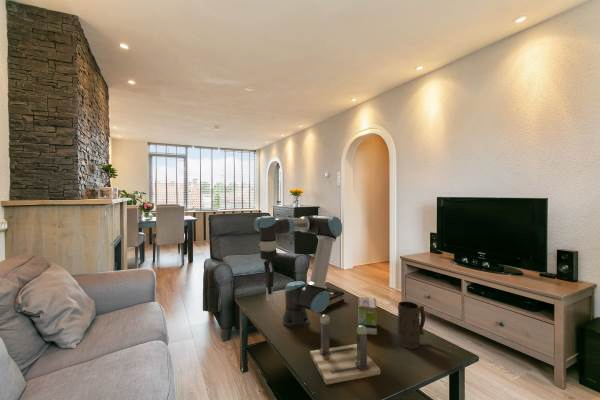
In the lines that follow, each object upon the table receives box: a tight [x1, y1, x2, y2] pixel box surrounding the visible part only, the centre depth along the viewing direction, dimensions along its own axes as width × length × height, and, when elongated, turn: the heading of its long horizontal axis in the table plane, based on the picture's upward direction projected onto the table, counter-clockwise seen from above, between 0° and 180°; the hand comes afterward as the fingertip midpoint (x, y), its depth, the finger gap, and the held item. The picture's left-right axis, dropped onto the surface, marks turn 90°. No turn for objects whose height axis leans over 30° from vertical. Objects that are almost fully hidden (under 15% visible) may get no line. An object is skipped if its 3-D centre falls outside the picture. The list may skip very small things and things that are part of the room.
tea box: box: [357, 296, 378, 335], centre depth 158 cm, size 15×10×15 cm
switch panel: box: [309, 343, 381, 385], centre depth 124 cm, size 21×24×2 cm
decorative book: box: [324, 286, 345, 311], centre depth 195 cm, size 19×8×30 cm
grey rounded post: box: [355, 325, 368, 370], centre depth 119 cm, size 4×4×18 cm
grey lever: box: [318, 314, 331, 356], centre depth 129 cm, size 4×4×18 cm
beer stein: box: [396, 301, 426, 350], centre depth 142 cm, size 15×11×20 cm
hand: (269, 300), depth 131 cm, fingers closed
